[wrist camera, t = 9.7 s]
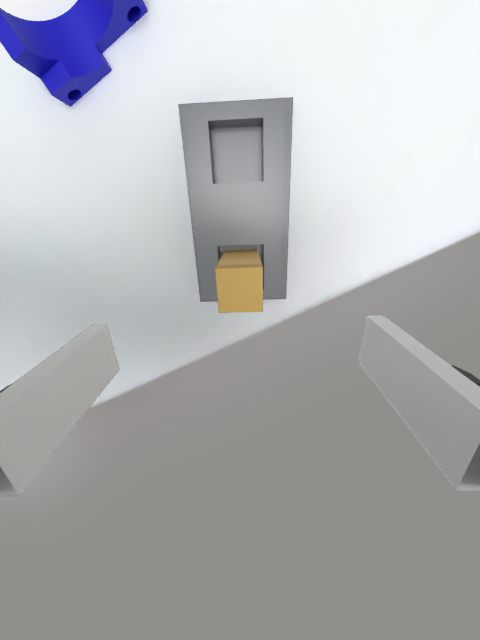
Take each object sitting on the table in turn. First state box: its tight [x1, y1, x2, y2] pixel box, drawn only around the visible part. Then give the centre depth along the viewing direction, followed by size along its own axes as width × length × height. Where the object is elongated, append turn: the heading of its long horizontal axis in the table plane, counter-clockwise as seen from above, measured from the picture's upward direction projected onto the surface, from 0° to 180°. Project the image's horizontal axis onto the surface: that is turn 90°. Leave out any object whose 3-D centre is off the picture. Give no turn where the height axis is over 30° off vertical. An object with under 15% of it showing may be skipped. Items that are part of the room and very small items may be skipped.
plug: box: [215, 248, 263, 313], centre depth 27 cm, size 4×4×12 cm
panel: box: [178, 97, 293, 302], centre depth 29 cm, size 12×22×4 cm, turn 2°
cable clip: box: [0, 0, 148, 107], centre depth 22 cm, size 12×4×6 cm, turn 120°
